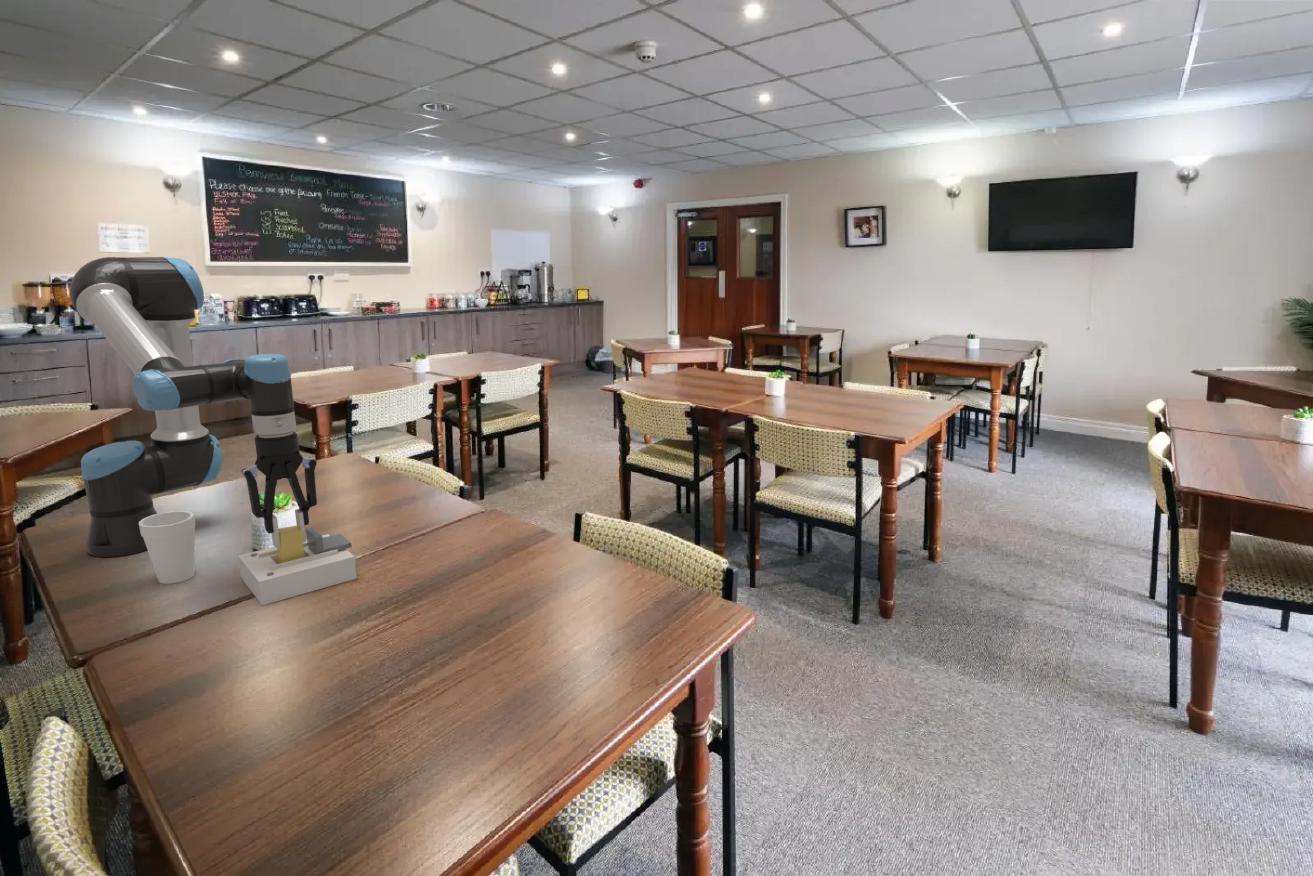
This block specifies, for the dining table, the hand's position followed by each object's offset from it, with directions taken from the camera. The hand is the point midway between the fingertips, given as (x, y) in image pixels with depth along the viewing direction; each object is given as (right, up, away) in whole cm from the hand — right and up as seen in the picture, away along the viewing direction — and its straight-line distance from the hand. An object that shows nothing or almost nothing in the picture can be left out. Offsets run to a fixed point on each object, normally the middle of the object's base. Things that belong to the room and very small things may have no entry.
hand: (289, 543), depth 145 cm
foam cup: (-25, -8, +2) cm, 26 cm away
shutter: (+6, -2, +6) cm, 8 cm away
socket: (0, -8, +2) cm, 8 cm away
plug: (0, -5, +1) cm, 5 cm away
